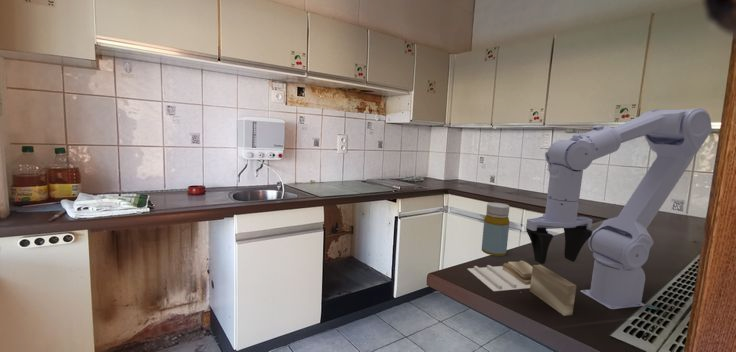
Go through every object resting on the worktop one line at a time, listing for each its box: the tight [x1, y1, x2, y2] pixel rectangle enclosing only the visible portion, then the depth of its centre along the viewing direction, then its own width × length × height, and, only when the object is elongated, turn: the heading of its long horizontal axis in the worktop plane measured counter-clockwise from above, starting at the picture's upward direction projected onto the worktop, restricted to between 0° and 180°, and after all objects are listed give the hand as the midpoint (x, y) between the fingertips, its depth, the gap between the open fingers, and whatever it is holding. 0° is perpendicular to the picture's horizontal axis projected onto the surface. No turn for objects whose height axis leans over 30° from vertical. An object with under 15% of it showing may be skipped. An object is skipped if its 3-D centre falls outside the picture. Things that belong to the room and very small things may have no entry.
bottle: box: [481, 202, 510, 257], centre depth 99 cm, size 7×7×15 cm
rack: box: [467, 260, 531, 292], centre depth 84 cm, size 17×12×2 cm
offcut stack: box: [502, 261, 533, 285], centre depth 84 cm, size 6×9×2 cm, turn 13°
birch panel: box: [529, 264, 577, 316], centre depth 72 cm, size 2×10×6 cm, turn 13°
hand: (554, 260), depth 71 cm, fingers open, 7 cm apart
